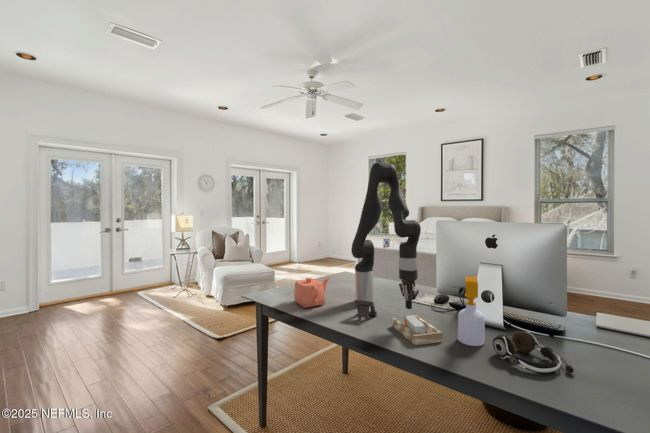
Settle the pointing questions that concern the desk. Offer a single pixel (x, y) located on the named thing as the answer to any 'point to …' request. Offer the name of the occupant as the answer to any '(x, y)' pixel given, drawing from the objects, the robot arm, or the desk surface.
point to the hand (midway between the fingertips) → (408, 308)
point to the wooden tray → (419, 339)
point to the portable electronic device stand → (365, 309)
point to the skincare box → (414, 324)
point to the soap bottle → (471, 317)
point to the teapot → (310, 292)
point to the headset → (526, 345)
